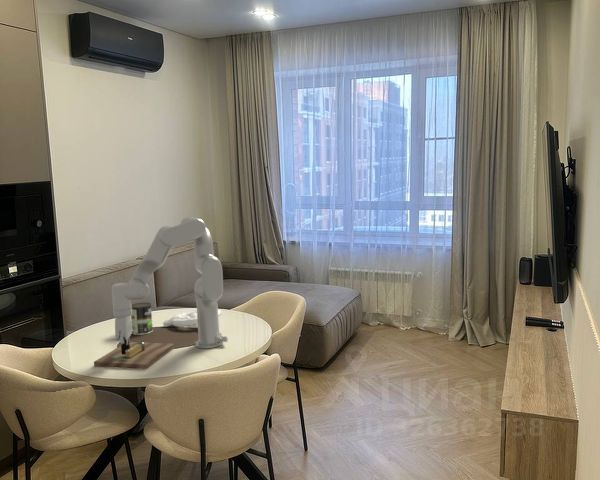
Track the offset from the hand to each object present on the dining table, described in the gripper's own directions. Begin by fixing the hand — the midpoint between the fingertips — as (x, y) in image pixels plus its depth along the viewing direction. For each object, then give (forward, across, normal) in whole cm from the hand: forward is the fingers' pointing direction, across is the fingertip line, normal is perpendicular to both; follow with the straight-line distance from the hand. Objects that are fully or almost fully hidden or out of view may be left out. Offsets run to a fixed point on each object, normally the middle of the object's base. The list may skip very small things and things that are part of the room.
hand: (126, 353), depth 227 cm
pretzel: (+3, -50, +24) cm, 56 cm away
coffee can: (+3, -41, -2) cm, 41 cm away
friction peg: (+1, -2, +4) cm, 4 cm away
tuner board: (+3, -4, +3) cm, 6 cm away
